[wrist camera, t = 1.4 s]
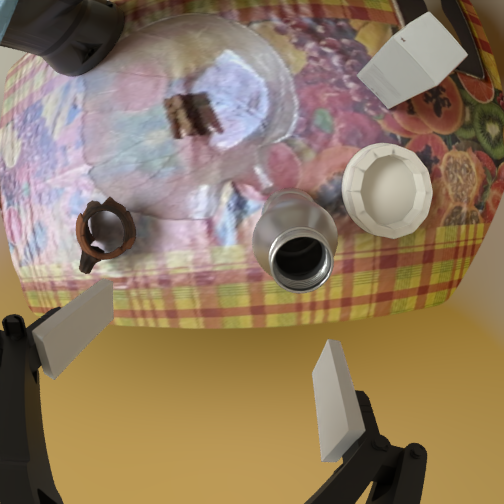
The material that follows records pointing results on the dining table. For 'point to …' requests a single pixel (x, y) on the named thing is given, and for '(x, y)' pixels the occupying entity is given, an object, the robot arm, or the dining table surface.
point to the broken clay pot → (85, 238)
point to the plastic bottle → (295, 241)
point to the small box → (412, 61)
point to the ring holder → (386, 190)
